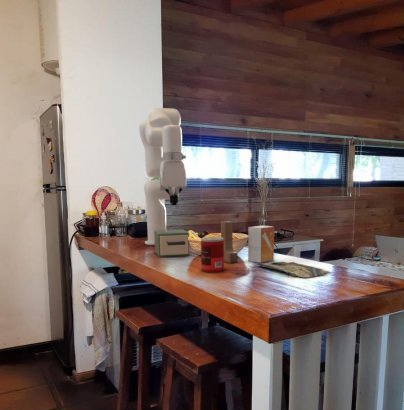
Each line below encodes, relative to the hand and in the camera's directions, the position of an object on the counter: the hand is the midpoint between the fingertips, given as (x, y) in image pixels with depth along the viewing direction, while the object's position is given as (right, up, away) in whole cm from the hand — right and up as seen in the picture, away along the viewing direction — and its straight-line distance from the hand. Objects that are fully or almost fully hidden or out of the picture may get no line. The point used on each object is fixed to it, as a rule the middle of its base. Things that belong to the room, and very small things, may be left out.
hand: (173, 205), depth 167 cm
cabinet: (-2, -19, +13) cm, 23 cm away
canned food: (+15, -25, -24) cm, 38 cm away
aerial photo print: (+42, -25, -25) cm, 55 cm away
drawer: (-1, -19, +8) cm, 21 cm away
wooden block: (+21, -23, -8) cm, 32 cm away
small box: (+34, -22, -7) cm, 41 cm away
